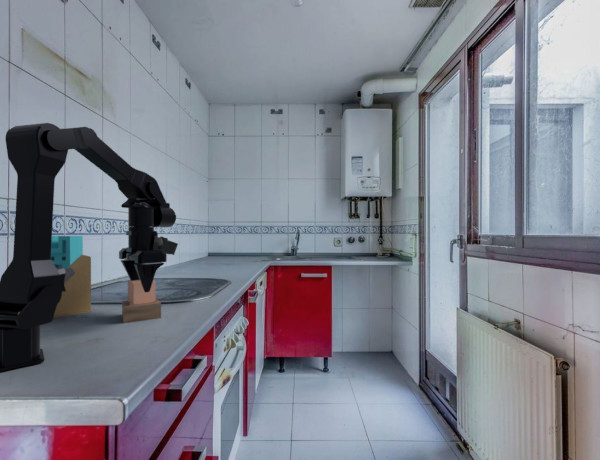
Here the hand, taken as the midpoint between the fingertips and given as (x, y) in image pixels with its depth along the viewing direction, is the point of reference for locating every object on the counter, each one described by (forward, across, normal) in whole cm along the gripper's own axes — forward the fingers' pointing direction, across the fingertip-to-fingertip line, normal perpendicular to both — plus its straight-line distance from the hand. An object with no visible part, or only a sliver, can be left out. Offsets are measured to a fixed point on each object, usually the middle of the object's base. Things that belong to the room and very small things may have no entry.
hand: (141, 289), depth 78 cm
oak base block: (+7, 0, 0) cm, 7 cm away
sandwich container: (+7, +18, +16) cm, 26 cm away
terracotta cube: (+3, 0, 0) cm, 3 cm away
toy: (+7, +31, +13) cm, 34 cm away
